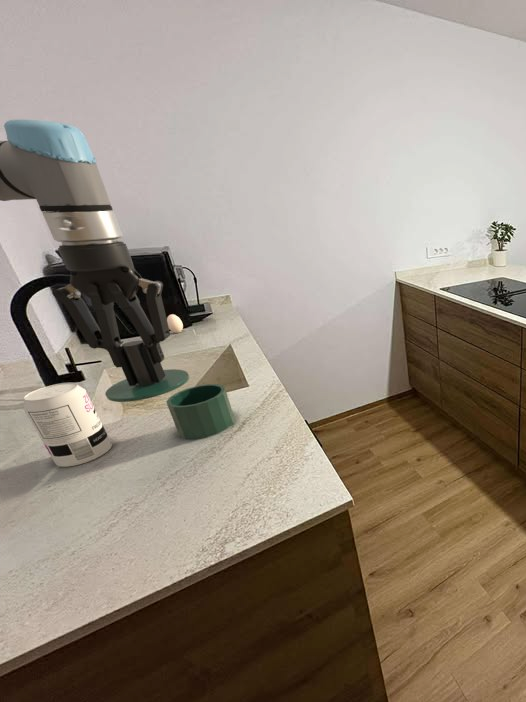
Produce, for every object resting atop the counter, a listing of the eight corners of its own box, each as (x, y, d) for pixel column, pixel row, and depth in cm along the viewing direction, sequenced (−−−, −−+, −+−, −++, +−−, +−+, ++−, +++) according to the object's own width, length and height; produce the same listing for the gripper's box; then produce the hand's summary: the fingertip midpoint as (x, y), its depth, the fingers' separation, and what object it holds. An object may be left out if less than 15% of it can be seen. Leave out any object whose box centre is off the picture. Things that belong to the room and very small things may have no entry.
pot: (172, 445, 79) (158, 411, 75) (188, 420, 88) (176, 388, 84) (229, 435, 82) (218, 401, 79) (239, 412, 91) (229, 381, 88)
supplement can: (47, 465, 73) (7, 398, 67) (97, 441, 81) (65, 378, 75) (74, 473, 71) (35, 404, 65) (123, 447, 78) (92, 384, 72)
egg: (187, 331, 147) (181, 313, 144) (174, 335, 143) (168, 316, 140) (180, 330, 149) (174, 312, 146) (167, 333, 145) (161, 315, 142)
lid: (93, 410, 60) (68, 360, 56) (127, 380, 70) (108, 336, 66) (177, 398, 63) (159, 350, 60) (198, 371, 73) (184, 329, 70)
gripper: (2, 247, 51) (78, 398, 60) (144, 242, 56) (193, 382, 65) (40, 241, 57) (103, 378, 67) (164, 237, 62) (206, 366, 72)
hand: (147, 380), depth 66 cm, fingers closed on lid, 3 cm apart
